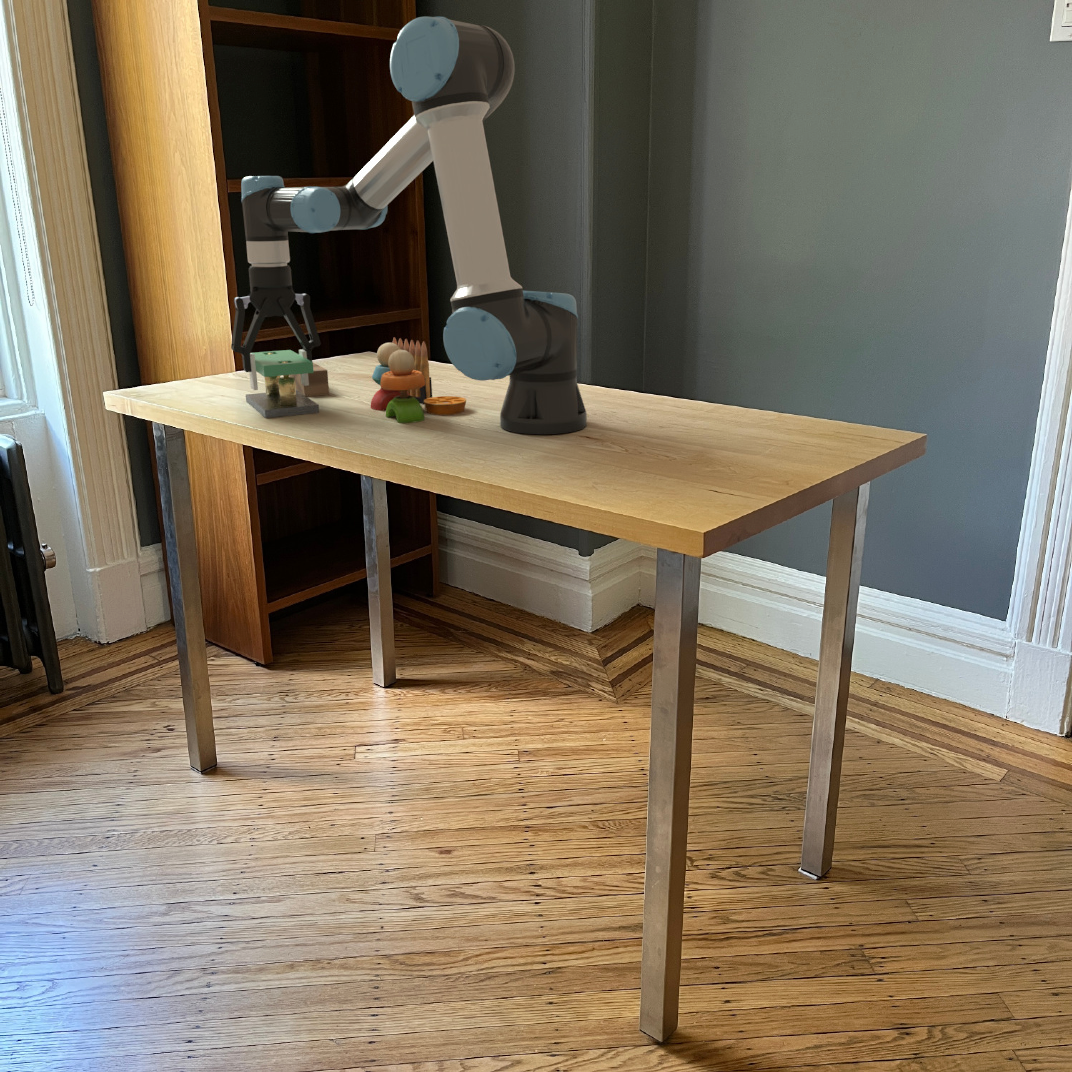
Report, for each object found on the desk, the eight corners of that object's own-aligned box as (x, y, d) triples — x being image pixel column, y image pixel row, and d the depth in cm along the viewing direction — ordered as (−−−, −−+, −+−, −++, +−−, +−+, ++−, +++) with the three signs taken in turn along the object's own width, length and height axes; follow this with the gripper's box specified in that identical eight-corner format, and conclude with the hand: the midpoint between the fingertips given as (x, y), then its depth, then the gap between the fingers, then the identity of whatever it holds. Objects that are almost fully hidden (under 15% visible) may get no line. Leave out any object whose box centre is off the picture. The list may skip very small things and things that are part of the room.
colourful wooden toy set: (478, 413, 194) (476, 345, 190) (394, 425, 185) (391, 354, 181) (431, 398, 208) (428, 335, 204) (351, 409, 199) (347, 343, 195)
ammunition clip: (433, 403, 202) (430, 341, 198) (425, 405, 201) (423, 342, 197) (398, 396, 209) (395, 336, 206) (390, 398, 208) (387, 337, 204)
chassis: (319, 412, 195) (315, 361, 192) (265, 418, 191) (260, 366, 188) (296, 397, 209) (292, 349, 206) (246, 402, 205) (241, 353, 202)
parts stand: (329, 394, 212) (327, 370, 210) (304, 397, 210) (302, 372, 208) (313, 385, 222) (311, 361, 220) (290, 387, 220) (288, 363, 218)
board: (313, 372, 192) (312, 361, 192) (264, 376, 189) (263, 365, 188) (291, 360, 207) (290, 349, 206) (245, 363, 203) (244, 353, 202)
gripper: (321, 261, 199) (330, 378, 207) (205, 265, 190) (218, 388, 197) (332, 263, 193) (341, 384, 200) (212, 268, 184) (225, 395, 191)
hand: (280, 386), depth 199 cm, fingers closed on board, 9 cm apart
